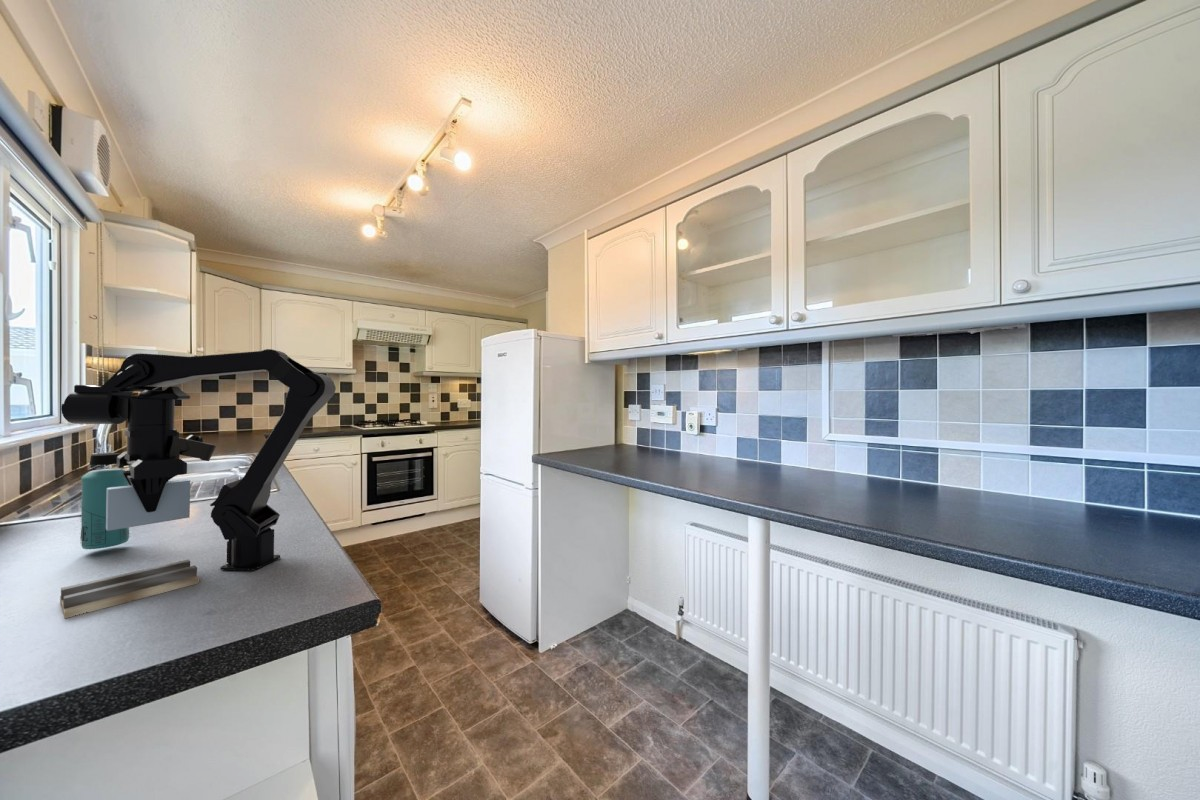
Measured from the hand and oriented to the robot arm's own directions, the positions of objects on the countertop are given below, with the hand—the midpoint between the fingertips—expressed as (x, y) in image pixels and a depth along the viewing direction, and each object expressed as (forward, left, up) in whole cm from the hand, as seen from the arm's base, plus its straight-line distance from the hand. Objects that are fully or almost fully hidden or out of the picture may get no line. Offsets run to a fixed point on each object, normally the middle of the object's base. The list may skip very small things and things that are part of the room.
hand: (149, 510), depth 74 cm
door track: (-6, +7, -11) cm, 14 cm away
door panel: (0, 0, -2) cm, 2 cm away
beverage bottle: (+19, -9, -11) cm, 24 cm away
